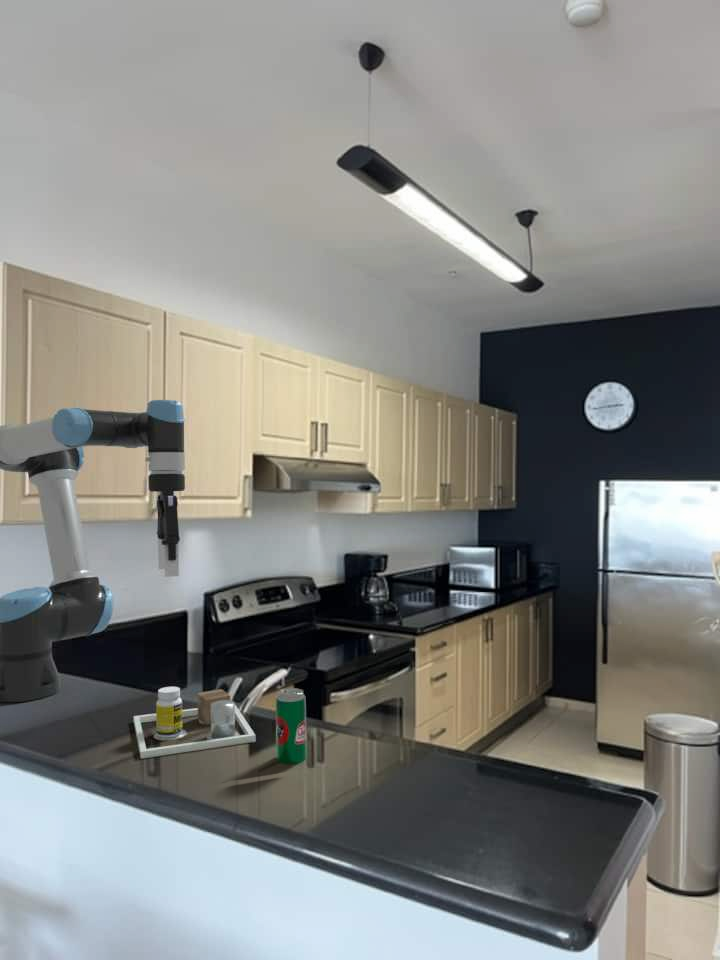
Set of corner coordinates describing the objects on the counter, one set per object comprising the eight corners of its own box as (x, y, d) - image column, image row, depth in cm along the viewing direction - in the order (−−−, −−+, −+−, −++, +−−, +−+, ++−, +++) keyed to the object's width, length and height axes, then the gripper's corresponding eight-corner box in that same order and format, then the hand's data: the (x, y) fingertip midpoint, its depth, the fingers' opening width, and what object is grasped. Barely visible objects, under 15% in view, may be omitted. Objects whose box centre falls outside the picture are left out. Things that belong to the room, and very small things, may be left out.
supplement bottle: (177, 739, 131) (176, 693, 131) (152, 738, 132) (151, 693, 132) (186, 729, 136) (185, 685, 136) (162, 729, 136) (161, 685, 136)
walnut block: (197, 718, 143) (197, 693, 142) (221, 713, 145) (221, 689, 145) (206, 725, 138) (205, 699, 138) (230, 720, 141) (230, 695, 141)
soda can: (301, 768, 119) (300, 696, 119) (272, 766, 120) (271, 695, 120) (310, 757, 123) (308, 687, 123) (282, 755, 125) (281, 686, 124)
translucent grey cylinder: (209, 733, 134) (208, 701, 134) (232, 730, 135) (232, 698, 135) (213, 741, 129) (212, 708, 129) (237, 738, 131) (236, 705, 131)
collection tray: (133, 725, 141) (133, 716, 141) (234, 712, 148) (234, 703, 148) (140, 762, 122) (140, 751, 122) (255, 745, 129) (255, 735, 129)
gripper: (143, 473, 162) (145, 566, 162) (153, 472, 139) (155, 581, 139) (177, 473, 165) (179, 564, 165) (192, 471, 142) (194, 578, 142)
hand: (168, 572), depth 152 cm, fingers open, 13 cm apart
